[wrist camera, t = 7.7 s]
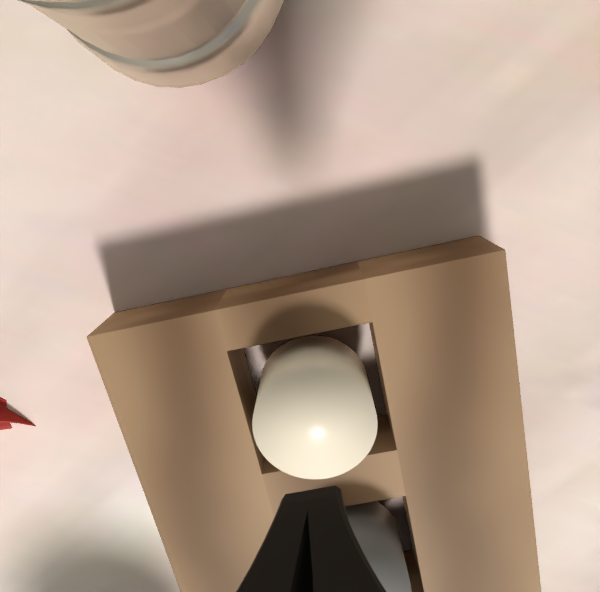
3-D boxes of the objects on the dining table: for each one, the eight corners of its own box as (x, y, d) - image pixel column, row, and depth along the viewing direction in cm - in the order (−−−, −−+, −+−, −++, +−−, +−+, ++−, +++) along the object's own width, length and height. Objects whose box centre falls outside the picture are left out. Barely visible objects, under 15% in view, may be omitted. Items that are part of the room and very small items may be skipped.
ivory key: (356, 325, 18) (365, 358, 15) (376, 422, 19) (387, 467, 16) (248, 347, 18) (238, 382, 16) (274, 441, 19) (268, 488, 17)
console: (479, 235, 18) (505, 249, 16) (531, 673, 24) (555, 731, 22) (114, 312, 19) (86, 336, 17) (253, 712, 26) (247, 771, 23)
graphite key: (389, 487, 20) (401, 540, 17) (405, 566, 21) (419, 628, 18) (291, 504, 20) (288, 559, 18) (312, 580, 21) (312, 643, 19)
